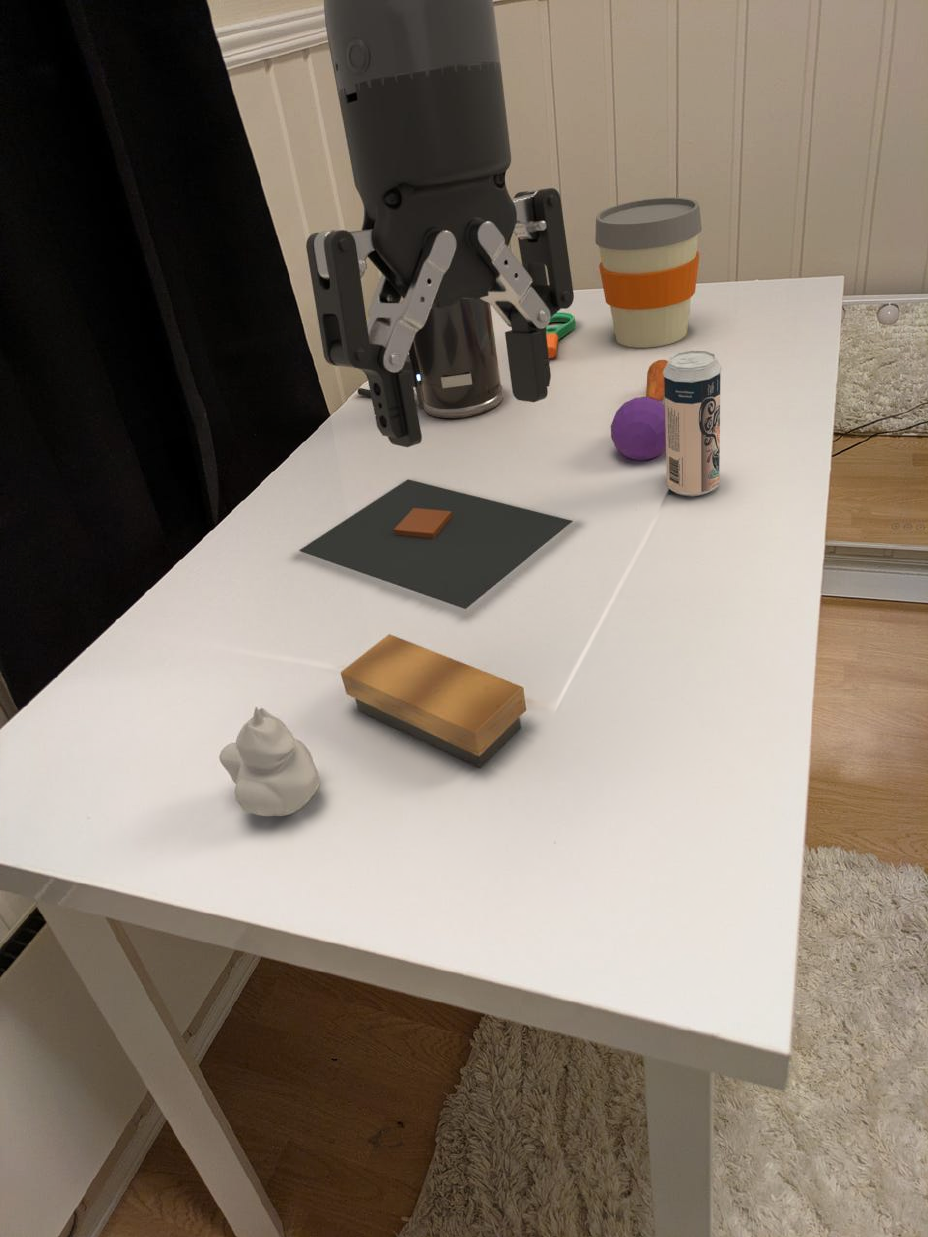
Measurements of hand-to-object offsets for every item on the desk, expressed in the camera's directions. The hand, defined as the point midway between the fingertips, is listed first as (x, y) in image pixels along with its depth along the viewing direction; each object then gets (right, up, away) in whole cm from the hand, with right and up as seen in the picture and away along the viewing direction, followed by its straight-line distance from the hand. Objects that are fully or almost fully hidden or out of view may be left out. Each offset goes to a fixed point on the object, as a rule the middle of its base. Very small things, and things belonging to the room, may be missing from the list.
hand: (470, 420), depth 48 cm
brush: (-2, -17, +14) cm, 22 cm away
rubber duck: (-12, -22, +10) cm, 27 cm away
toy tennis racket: (+11, +26, +72) cm, 78 cm away
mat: (-3, -4, +33) cm, 34 cm away
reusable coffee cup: (+24, +26, +68) cm, 76 cm away
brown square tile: (-4, -2, +35) cm, 35 cm away
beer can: (+21, +1, +34) cm, 40 cm away
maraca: (+19, +9, +46) cm, 51 cm away
